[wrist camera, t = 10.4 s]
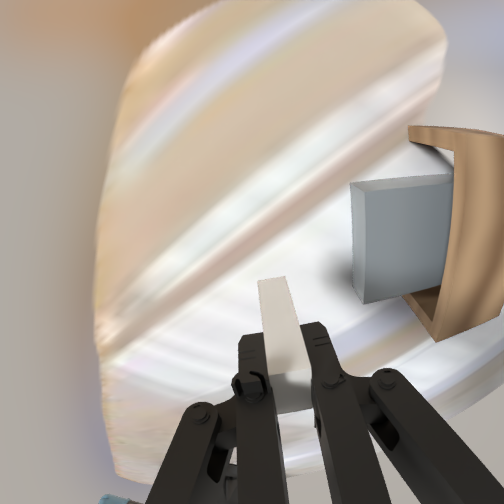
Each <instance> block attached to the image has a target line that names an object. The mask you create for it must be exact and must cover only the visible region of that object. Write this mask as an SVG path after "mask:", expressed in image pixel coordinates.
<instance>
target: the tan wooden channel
mask: <svg viewBox="0 0 504 504" xmlns="http://www.w3.org/2000/svg"><path fill="white" fill-rule="evenodd" d="M408 132H409V141H412V142H417V143H422V144H426V145H431V146H435V147H439V148H443V149H447V150H451V151H454V190H453V207H452V218H451V228H450V236H449V244H448V251H447V257H446V263H445V269H444V274H443V279H442V284H441V285H438V286H434V287H431V288H427V289H424V290H420V291H416V292H413V293H409V294H405V295H402V297H403V298H404V300H405V301H406V302H407V303H408V305H409V306H410V307H411V309H412V310H413V312H414V313H415V314H416V316H417V317H418V318H419V320H420V321H421V322H422V324H423V325H424V327H425V328H426V330H427V331H428V332H429V334H430V335H431V337H432V338H433V340H434V341H435V342H439V341H442V340H444V339H447V338H449V337H452V336H454V335H457V334H459V333H462V332H464V331H467V330H469V329H471V328H473V327H476V326H478V325H480V324H482V323H485V322H487V321H489V320H491V319H493V318H495V317H497V316H499V314H500V312H501V309H502V306H503V303H504V135H501V134H497V133H492V132H487V131H482V130H476V129H466V128H454V127H438V126H408Z"/></svg>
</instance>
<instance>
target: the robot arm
mask: <svg viewBox="0 0 504 504" xmlns="http://www.w3.org/2000/svg"><path fill="white" fill-rule="evenodd" d="M257 283H258V291H259V300H260V308H261V317H262V325H263V332H261V333H255V334H248V335H243V336H242V338H241V339H240V341H239V343H238V353H239V354H238V359H239V361H238V368H239V373H237V374H236V375H235V376H234V378H233V379H232V383H231V386H232V388H233V391H234V394H235V395H234V396H233V397H232V398H231V399H229V400H227V401H225V402H223V403H220V404H217V405H212V404H211V403H207V402H198V403H195V404H192V405H191V406H189V407H188V408H187V409H186V411H185V412H184V414H183V416H182V419H181V421H180V423H179V426H178V428H177V430H176V433H175V435H174V437H173V440H172V442H171V444H170V447H169V449H168V451H167V454H166V456H165V458H164V461H163V463H162V465H161V468H160V470H159V472H158V475H157V477H156V479H155V482H154V484H153V486H152V489H151V491H150V493H149V495H148V498H147V500H146V502H145V504H289V498H288V490H287V482H286V475H285V467H284V459H283V452H282V444H281V436H280V429H279V423H278V417H277V415H278V414H284V413H290V412H296V411H301V410H306V409H311V408H313V409H314V420H315V428H317V433H318V438H319V442H320V447H321V451H322V456H323V461H324V465H325V470H326V475H327V480H328V485H329V489H330V494H331V499H332V504H392V503H391V500H390V497H389V494H388V490H387V487H386V484H385V480H384V477H383V474H382V471H381V468H380V465H379V461H378V458H377V455H376V452H375V449H374V446H373V443H372V440H371V437H370V435H369V432H370V433H371V435H372V436H373V437H374V439H375V440H376V442H377V443H378V444H379V446H380V447H381V449H382V450H383V451H384V453H385V454H386V456H387V457H388V458H389V460H390V461H391V462H392V464H393V465H394V467H395V468H396V470H397V471H398V472H399V473H400V475H401V477H402V478H403V479H404V481H405V482H406V484H407V485H408V486H409V488H410V489H411V490H412V492H413V493H414V495H415V496H416V497H417V499H418V500H419V502H420V503H421V504H504V488H503V487H502V485H501V484H500V483H499V482H498V481H497V480H496V478H495V477H494V476H493V475H492V474H491V472H490V471H489V470H488V469H487V468H486V467H485V465H484V464H483V463H482V462H481V461H480V460H479V459H478V457H477V456H476V455H475V454H474V453H473V452H472V451H471V450H470V448H469V447H468V446H467V445H466V444H465V443H464V442H463V440H462V439H461V438H460V437H459V436H458V435H457V434H456V432H454V430H453V429H452V428H451V427H450V426H449V425H448V424H447V422H446V421H445V420H444V419H443V418H442V417H441V416H440V415H439V414H438V413H437V411H436V410H435V409H434V408H433V407H432V406H431V405H430V404H429V403H428V402H427V401H426V399H425V398H424V397H423V396H422V395H421V394H420V393H419V392H418V391H417V390H416V389H415V388H414V386H413V385H412V384H411V383H410V382H409V381H408V380H407V379H406V378H405V377H404V376H403V375H402V374H401V373H400V372H399V371H397V370H395V369H392V368H383V369H380V370H378V371H376V372H375V373H374V374H373V375H372V377H355V376H352V375H349V374H347V373H346V372H345V371H344V370H343V369H342V368H341V366H340V363H339V361H338V358H337V355H336V353H335V350H334V347H333V345H332V343H331V340H330V337H329V335H328V332H327V329H326V327H325V326H323V325H322V324H321V323H320V322H319V321H318V322H313V323H308V324H303V325H299V322H298V318H297V315H296V311H295V308H294V305H293V301H292V298H291V294H290V291H289V287H288V284H287V281H286V277H285V276H282V277H277V278H271V279H265V280H259V281H257ZM368 430H369V432H368ZM234 447H237V466H235V465H230V464H229V462H230V459H231V455H232V452H233V448H234ZM98 504H142V503H139V502H135V501H132V500H130V499H125V498H121V497H118V496H114V495H110V494H107V495H104V496H103V497H102V498H101V499H100V501H99V503H98Z"/></svg>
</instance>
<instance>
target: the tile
mask: <svg viewBox="0 0 504 504" xmlns="http://www.w3.org/2000/svg"><path fill="white" fill-rule="evenodd" d="M453 190H454V174H438V175H424V176H412V177H401V178H390V179H380V180H371V181H362V182H353V183H350V191H351V208H352V236H353V288H354V289H355V291H356V293H357V295H358V296H359V298H360V300H361V301H362V303H363V305H364V304H368V303H372V302H377V301H381V300H385V299H389V298H393V297H397V296H401V295H405V294H409V293H413V292H416V291H420V290H424V289H427V288H431V287H434V286H438V285H441V284H442V279H443V274H444V269H445V263H446V257H447V251H448V244H449V236H450V228H451V218H452V207H453Z"/></svg>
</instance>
